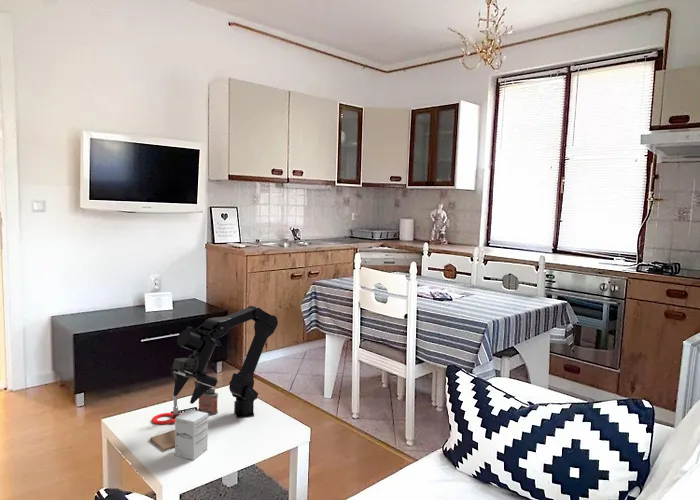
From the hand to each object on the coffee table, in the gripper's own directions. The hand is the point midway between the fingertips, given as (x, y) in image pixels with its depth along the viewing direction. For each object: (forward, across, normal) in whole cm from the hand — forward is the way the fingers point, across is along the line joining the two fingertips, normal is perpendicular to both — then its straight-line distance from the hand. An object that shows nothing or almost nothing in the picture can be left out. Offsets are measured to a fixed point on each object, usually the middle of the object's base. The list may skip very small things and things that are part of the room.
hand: (182, 399), depth 165 cm
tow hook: (+10, -17, +11) cm, 23 cm away
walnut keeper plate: (+14, -2, +4) cm, 14 cm away
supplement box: (+14, +10, +4) cm, 17 cm away
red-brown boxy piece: (+3, -11, +23) cm, 26 cm away
